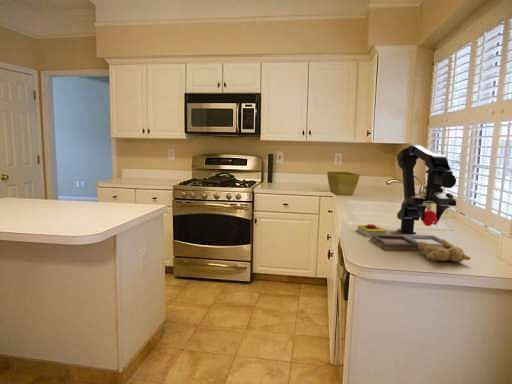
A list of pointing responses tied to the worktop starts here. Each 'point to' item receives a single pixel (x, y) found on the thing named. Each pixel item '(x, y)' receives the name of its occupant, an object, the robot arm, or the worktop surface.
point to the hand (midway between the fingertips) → (429, 221)
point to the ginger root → (443, 252)
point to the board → (394, 243)
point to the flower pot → (342, 182)
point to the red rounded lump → (430, 218)
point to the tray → (426, 238)
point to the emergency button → (370, 230)
